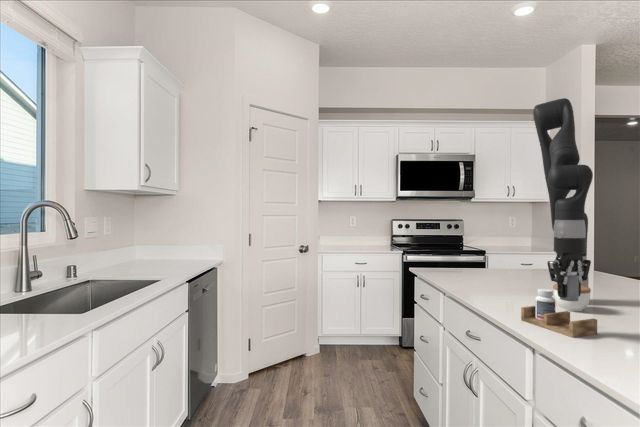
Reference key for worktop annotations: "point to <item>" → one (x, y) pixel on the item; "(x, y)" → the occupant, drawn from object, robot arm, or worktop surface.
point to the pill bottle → (544, 303)
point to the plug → (572, 287)
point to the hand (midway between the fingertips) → (569, 296)
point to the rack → (560, 322)
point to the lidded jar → (573, 305)
